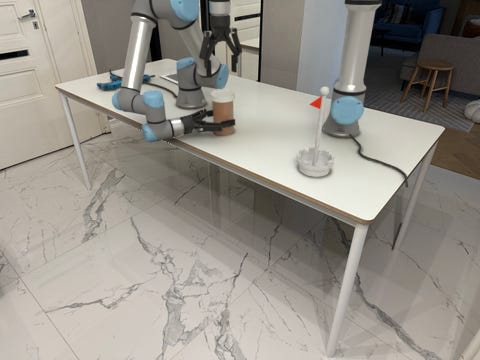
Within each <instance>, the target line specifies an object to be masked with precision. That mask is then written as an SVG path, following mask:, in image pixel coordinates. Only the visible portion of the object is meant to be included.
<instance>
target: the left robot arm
mask: <svg viewBox="0 0 480 360" xmlns="http://www.w3.org/2000/svg"><path fill="white" fill-rule="evenodd" d="M199 4H200V1H199V0H134V3H133V6H132V9H131V13H130V20H131V22H132V24H131V29H130V34H129V40H128V46H127V50H126V57H125V62H124V68H123V74H122V76H120V75H117V77H118V78H120V79H122V84H121V87H120V88H119V89H120V90H117V91H115V92H114V93H113V95H112V97H111V103H112V106H113V107H114V109H116V110H117V111H121V112H124V113H131V114H137V115H141V116H145V119H146V123H143V124H142V125H141V132H142V136H143V139H144V140H145V142H146V143H155V142H159V141H164V140H168V139H172V138H177V137H181V136H182V137H183V136H187V135H192V134H193V132H194V130H197V133H211V132H212V133H214V132H221V131H222V128H226V127H230V126H234V127H235V126H236V119H235V118H234V119H231V120H226V121H222V122H220V123H215V122H213V121H206V120H204V119H206V118H212V117H213V109H209V110H207V108H204V109H201V108H203V107H204V106H206V105H207V99H206V97H205V95H204V92H203V89H202V87H203V88H209V89H214V90H221V89H224V88H225V87H226V85H227V83H228V80H229V76H230V75H229V74H230V69H229V66H228V65H227V64H225V63H221V61H220V59H219V57H217V56H215V55H214V53H212V54H211V56H210V59H209V60H211V70H212V78H209V77H207V75H206V69H205V67H204V60H203V59H201V58H199V54H200V50H201V46H202V42H203V38H204V36H203V32H204V31H203V30H202V29H201V26H200V24H199V22H198V18H199V15H200V5H199ZM159 20H166V21H167V22H168V23H169V25H170V27H171V28H172V29H173V31H178V33H179V35H180V37H181V39H182V41H183V43H184V44H185V46H186V48H187V50H188V52H189V53H190V55H191V56H189V57H184V58H180V59H178V60H177V61H176V64H175V66H176V69H175V70H176V72H177V78H178V84H177V87H178V92H177V95H176V93H175V91H173V90H171V89H170V88H167V87H165V86H162V85H159V84H157V83H152V82H149V81H146V82H142V81H143V76H144V74H145V70H146V65H147V61H148V60H147V59H148V54H149V49H150V43H151V38H152V34H153V29H154V28H156V26H157V22H158V21H159ZM208 46H209V44H208ZM108 71H109V74H110V76H113V75H116V74H115V73H113V72H112V69H111V68H109V70H108ZM143 84H145V85H150V86H152V87H153V86H154V87H157V88H161V89H164V90H166V91H168V92H169V93H171V94H172V96H173V97H174V98H176V101H175V102H176V106H177V107H178V108H180V109H184V110H197V109H198V110H197V111H195V112H193V113H191V114H187V115H184V116H179V117H178V116H177V117H172V118H169V119H167V116H166V115H167V114H166V107H165V106H166V105H165V104H166V103H165V100H164V96H163V95H164V94H163V93H162V92H161V91H159V90H146V91H144V92H143V93H142V92H141V90H142V85H143ZM141 93H142V94H141Z"/></svg>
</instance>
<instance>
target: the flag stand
mask: <svg viewBox="0 0 480 360" xmlns="http://www.w3.org/2000/svg"><path fill="white" fill-rule="evenodd" d="M319 94H320V96H319V97H318V98H316V99H315V100H314V101H312V102H311V103H309V104H308V105H309V106H311V107H314V108H316V109H318V110H319V113H318V119H317V127H316V133H315V134H316V135H315V143H314V146H309V148H308V149H305V148H304V147H303V148H301V149H299V150H298V153H296V163H297V165H298V171H299V172H300V173H302V174H304V175H306V176H309V177H314V178H315V177H317V178H320V177H325V176H326V175H328V174H329V173H330V170H331V168H333V166H334V164H335V155H334V154H333V153H331V154H330V150H328V149H326V148H322V149H321V150H320V146H321V145H320V144H321V138H322V137H321V136H322V130H323V125H324V117H325V116H324V115H325V109H326V101H327V96H328V95H329V94H330V88H329V87H328V86H322V87H321V88H320V89H319Z"/></svg>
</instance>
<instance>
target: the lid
mask: <svg viewBox="0 0 480 360" xmlns="http://www.w3.org/2000/svg"><path fill="white" fill-rule="evenodd" d="M209 98H210V100H211V102H212V101H214V102H219V103H225V102H230V101H233V102H234V100H235V99H236V95H235V91H233V90H231V89H226V88H225V89H224V88H222V89H214V90H212V91H211V92H210V97H209Z"/></svg>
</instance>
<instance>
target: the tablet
mask: <svg viewBox="0 0 480 360" xmlns="http://www.w3.org/2000/svg"><path fill="white" fill-rule="evenodd" d="M159 77H160V78H162V79H165V80H167V81H169V82H171V83H174V84H176V85H178V78H177V71H175V72H171V73H167V74H163V75H159Z"/></svg>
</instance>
